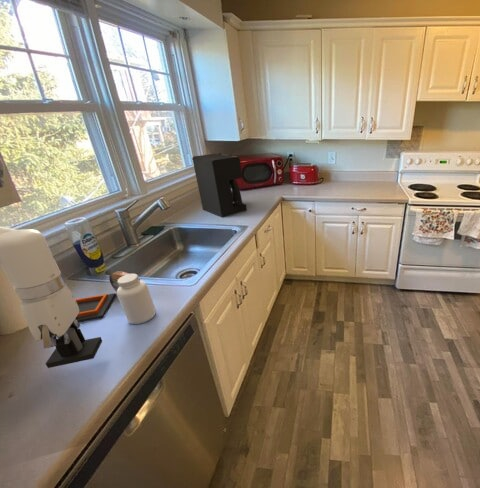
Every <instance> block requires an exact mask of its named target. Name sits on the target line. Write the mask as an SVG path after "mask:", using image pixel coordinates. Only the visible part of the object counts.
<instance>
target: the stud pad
mask: <svg viewBox="0 0 480 488" xmlns="http://www.w3.org/2000/svg"><path fill="white" fill-rule="evenodd" d="M66 332H67V334H68V337H69V339H70V340H73V342H74V344H75V346H76V348H77V350H78V353H77V354H76V355H71V356H66V357H61V356H60V354H59V352H58V350H57V348H56V347H55V349H54V350H53V352H52V353H51V355H50V356H49V357H48V359H47V360H46V362H45V365H46V367H47V369H50V368H55V367H60V366H65V365H69V364H75V363H79V362H83V361H88V360H93V359H94V358H95V357H96V354H97V352H98V351H99V349H100V347H101V345H102V343H103V340H102V337H101V336H99V337H98V336H97V337H93V338H88V339H85V341H84V342H83V343H81V342H80V340H79V338H78V336H77V334H76V332H75V329H74V328H68V330H67V331H66ZM56 338H57V339H62V337H58V336H57V337H56Z"/></svg>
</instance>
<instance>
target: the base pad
mask: <svg viewBox="0 0 480 488" xmlns="http://www.w3.org/2000/svg"><path fill="white" fill-rule="evenodd" d="M116 297H117V293H116V292H114V293H104V294H100V295H99V294H98V295H94V296H93V295H92V296H86V297H79V298H75V300H76V302H77V305H78V307H79V313H78V315H77V317H78V318H77V321H78V323H79V324H80V323H84V322H88V321H94V320H99V319H103V318H104V317H105V315H106V314H107V312H108V310H109V309H110V307H111V305H112V303H113V302H114V300H115V298H116Z"/></svg>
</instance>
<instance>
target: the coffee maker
mask: <svg viewBox="0 0 480 488" xmlns="http://www.w3.org/2000/svg"><path fill="white" fill-rule="evenodd" d="M191 160H192V164H193V168H194V174H195V177H196V178H195V179H196V183H197V188H198V192H199V198H200V202H201V206H202V210H203V211H205V212H207V213H210V214H213V215H215V216H218V217H220V218H225V217H228V216H232V215H235V214H238V213H242V212H246V211H247V209H248V208H247V204H246V203H243V198H242V194H241V190H240V187H239V185H238V182H237V180H239V179H242V177H243V171H242V164H241V158H240V157H239V156H235V155H233V154H224V153H210V154H203V155H202V154H201V155H194V156H192V157H191Z"/></svg>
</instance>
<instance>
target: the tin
mask: <svg viewBox="0 0 480 488" xmlns="http://www.w3.org/2000/svg"><path fill="white" fill-rule="evenodd" d="M127 274H130V273H129V272H125V271H123V270H117V271H115V272H112V273H110V274H109V275H108V279H109V283H110V286H111V287H112V288H113V289H114V291H115V292H117V290H118V288H119V287H120V286H119V285H118V282H117V281H118V279H119V278H120V277H122V276H124V275H127Z"/></svg>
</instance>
